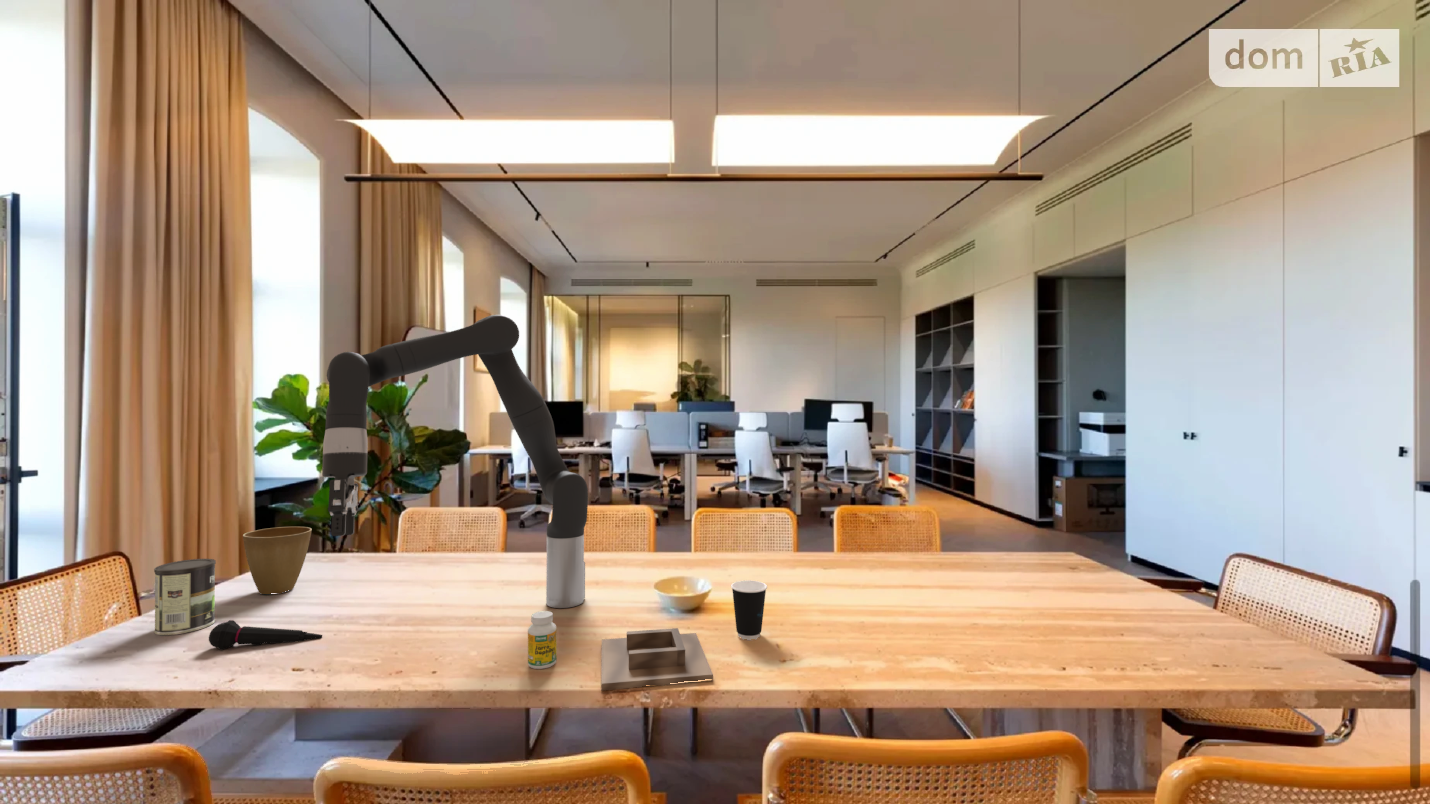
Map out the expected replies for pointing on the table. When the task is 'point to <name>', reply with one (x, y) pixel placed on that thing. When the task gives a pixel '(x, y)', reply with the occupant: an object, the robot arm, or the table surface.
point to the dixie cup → (749, 607)
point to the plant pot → (276, 557)
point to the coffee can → (184, 596)
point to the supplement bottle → (542, 641)
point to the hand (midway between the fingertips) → (343, 535)
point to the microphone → (254, 635)
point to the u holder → (652, 659)
